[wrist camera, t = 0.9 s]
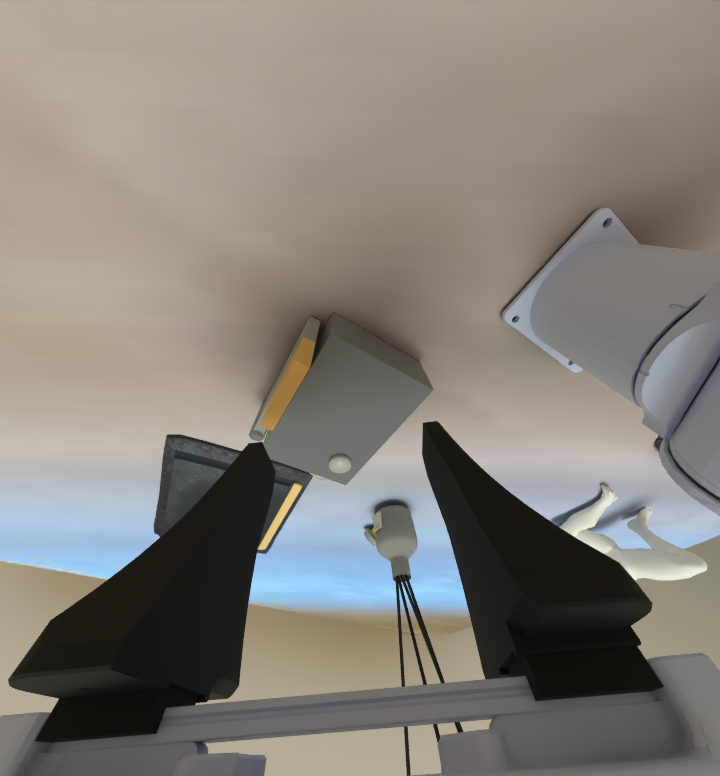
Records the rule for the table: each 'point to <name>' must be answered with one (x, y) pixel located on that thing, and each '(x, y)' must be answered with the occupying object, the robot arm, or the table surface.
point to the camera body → (346, 403)
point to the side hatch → (287, 381)
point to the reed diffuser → (402, 580)
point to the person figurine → (638, 562)
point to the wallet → (201, 471)
